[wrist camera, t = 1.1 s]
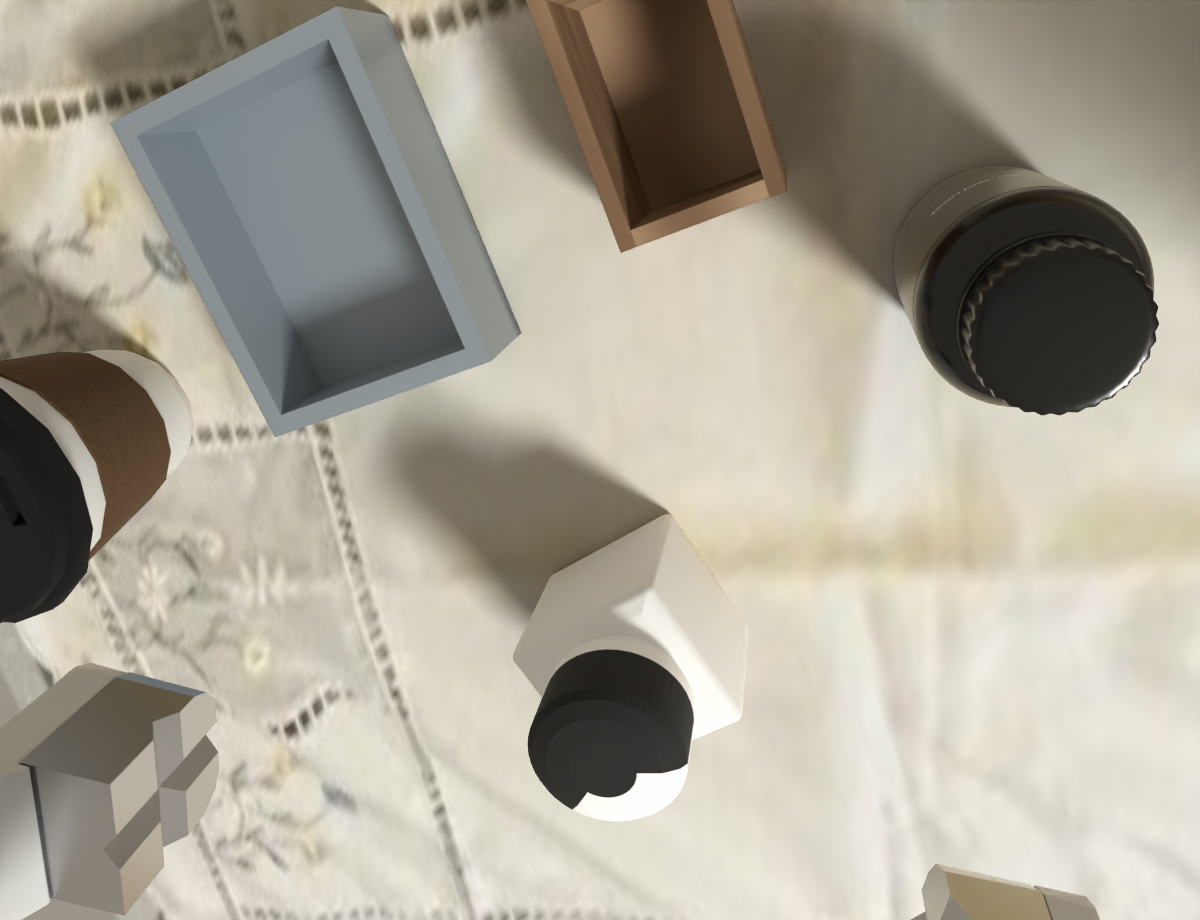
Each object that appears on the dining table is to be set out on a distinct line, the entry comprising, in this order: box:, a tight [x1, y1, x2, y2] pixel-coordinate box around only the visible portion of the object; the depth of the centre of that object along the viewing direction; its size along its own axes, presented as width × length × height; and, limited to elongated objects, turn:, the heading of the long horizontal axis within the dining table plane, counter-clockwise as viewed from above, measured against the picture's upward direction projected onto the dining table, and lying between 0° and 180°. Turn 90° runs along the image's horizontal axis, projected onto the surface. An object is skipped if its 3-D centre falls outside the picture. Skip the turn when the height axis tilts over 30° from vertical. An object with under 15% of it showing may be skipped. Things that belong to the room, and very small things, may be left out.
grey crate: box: [110, 6, 521, 437], centre depth 38 cm, size 11×14×4 cm
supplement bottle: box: [893, 165, 1159, 415], centre depth 30 cm, size 7×7×12 cm
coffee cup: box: [0, 350, 194, 623], centre depth 40 cm, size 11×11×12 cm
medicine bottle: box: [513, 514, 748, 821], centre depth 38 cm, size 7×7×12 cm
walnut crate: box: [526, 0, 787, 253], centre depth 32 cm, size 6×9×6 cm, turn 22°
